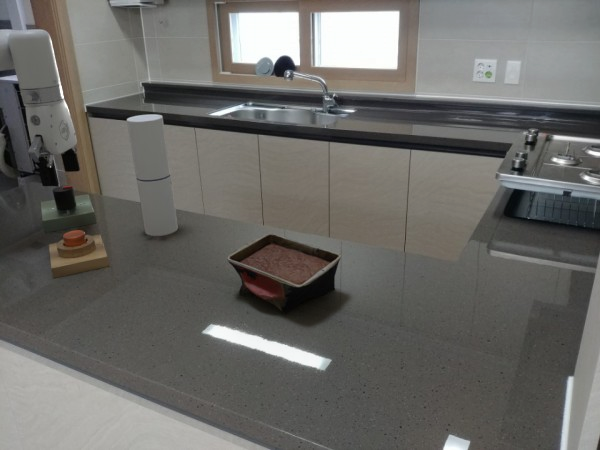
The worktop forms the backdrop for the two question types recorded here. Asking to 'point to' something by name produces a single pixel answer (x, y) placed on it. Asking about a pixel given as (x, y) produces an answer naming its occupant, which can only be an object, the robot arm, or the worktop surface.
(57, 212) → the panel
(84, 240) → the button
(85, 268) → the button block
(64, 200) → the knob
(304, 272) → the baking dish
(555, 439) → the worktop surface
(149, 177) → the cylindrical container
